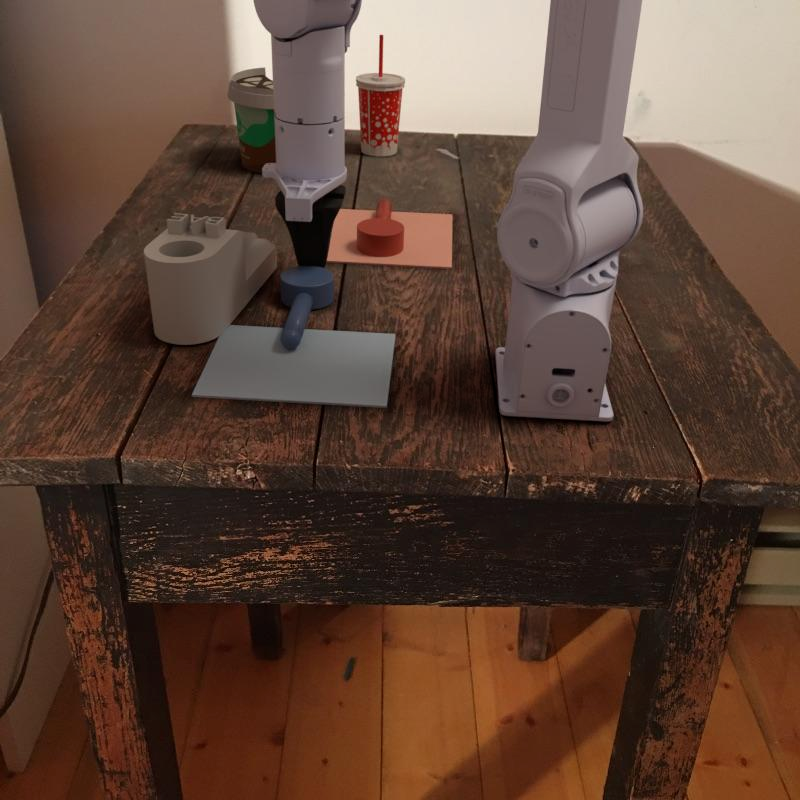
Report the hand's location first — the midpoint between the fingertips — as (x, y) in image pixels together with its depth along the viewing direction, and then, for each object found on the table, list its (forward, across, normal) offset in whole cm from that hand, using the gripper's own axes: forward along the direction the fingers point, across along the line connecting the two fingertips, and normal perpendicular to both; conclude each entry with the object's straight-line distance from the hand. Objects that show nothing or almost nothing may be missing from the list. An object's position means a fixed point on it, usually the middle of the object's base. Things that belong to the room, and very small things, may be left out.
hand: (312, 269), depth 82 cm
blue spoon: (+1, +7, 0) cm, 7 cm away
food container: (+2, -33, -11) cm, 35 cm away
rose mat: (+1, -12, +6) cm, 13 cm away
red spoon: (+1, -13, +5) cm, 14 cm away
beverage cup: (+2, -41, +3) cm, 41 cm away
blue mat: (+1, +14, +1) cm, 15 cm away
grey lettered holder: (+2, +4, -8) cm, 9 cm away
